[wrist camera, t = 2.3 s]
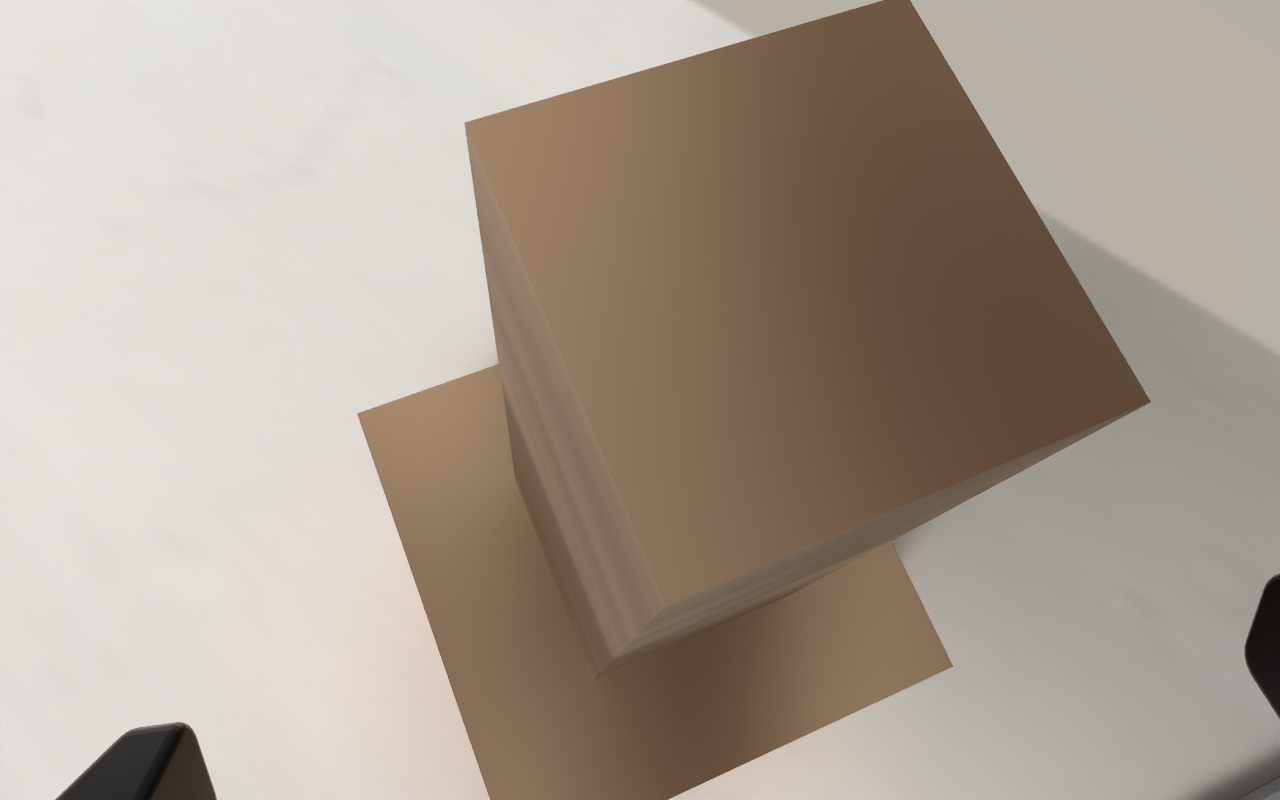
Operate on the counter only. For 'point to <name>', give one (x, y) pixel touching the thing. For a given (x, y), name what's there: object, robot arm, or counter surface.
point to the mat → (1265, 792)
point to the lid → (728, 402)
